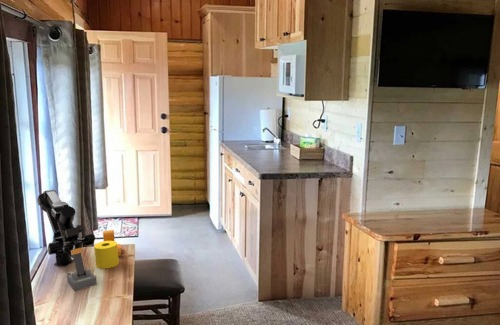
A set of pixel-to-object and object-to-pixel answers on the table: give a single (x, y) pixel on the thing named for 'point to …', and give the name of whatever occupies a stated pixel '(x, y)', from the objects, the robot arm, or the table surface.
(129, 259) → the table surface
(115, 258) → the tape roll
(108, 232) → the bracket
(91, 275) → the box
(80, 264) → the breaker lever
